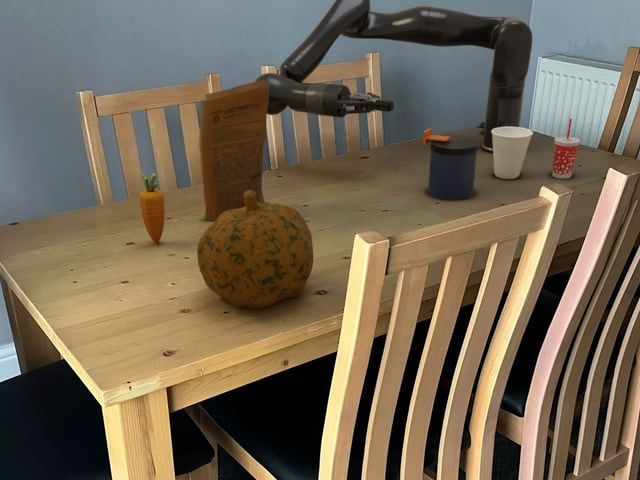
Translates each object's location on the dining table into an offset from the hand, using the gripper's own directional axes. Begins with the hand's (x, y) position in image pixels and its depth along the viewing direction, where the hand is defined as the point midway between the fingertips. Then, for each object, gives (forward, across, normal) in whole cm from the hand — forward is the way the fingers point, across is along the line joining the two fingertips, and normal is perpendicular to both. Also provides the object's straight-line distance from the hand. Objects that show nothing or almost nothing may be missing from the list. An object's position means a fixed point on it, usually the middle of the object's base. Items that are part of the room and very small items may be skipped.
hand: (392, 106), depth 187 cm
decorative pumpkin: (+6, +69, -18) cm, 72 cm away
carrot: (-26, +59, -18) cm, 67 cm away
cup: (+24, -18, -19) cm, 36 cm away
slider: (+12, +1, -7) cm, 14 cm away
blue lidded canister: (+16, +1, -18) cm, 25 cm away
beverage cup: (+36, -24, -19) cm, 47 cm away
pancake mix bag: (-21, +36, -18) cm, 45 cm away
